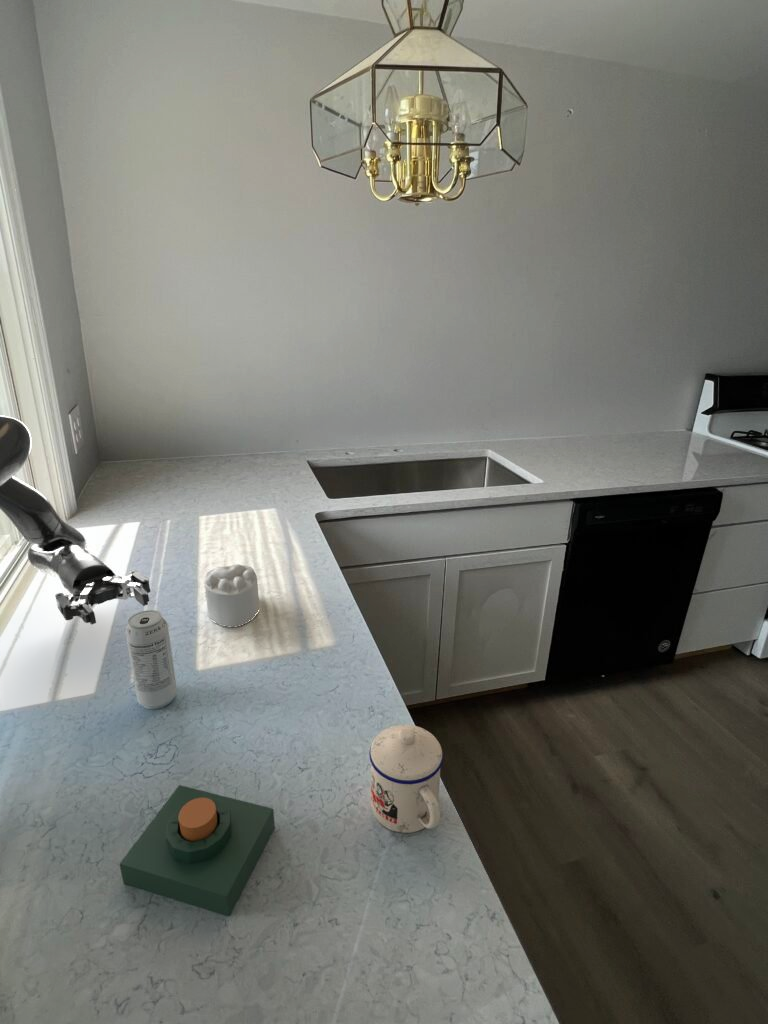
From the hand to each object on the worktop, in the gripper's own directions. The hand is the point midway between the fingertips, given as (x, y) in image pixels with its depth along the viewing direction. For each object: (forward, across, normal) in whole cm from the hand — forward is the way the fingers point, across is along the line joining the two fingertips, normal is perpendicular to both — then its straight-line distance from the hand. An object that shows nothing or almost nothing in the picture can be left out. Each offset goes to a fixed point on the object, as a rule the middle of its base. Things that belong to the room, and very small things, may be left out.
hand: (120, 609), depth 93 cm
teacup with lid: (+54, +13, +12) cm, 57 cm away
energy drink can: (+11, 0, +12) cm, 16 cm away
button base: (+41, -8, +12) cm, 43 cm away
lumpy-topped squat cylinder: (-5, +23, +12) cm, 27 cm away
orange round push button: (+41, -8, +7) cm, 42 cm away
